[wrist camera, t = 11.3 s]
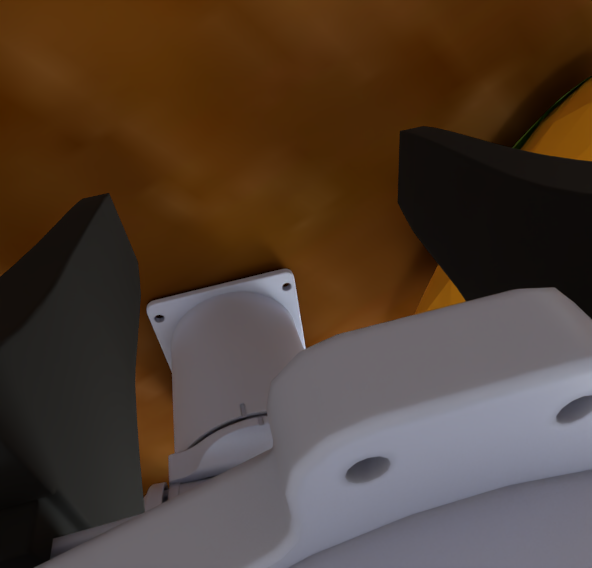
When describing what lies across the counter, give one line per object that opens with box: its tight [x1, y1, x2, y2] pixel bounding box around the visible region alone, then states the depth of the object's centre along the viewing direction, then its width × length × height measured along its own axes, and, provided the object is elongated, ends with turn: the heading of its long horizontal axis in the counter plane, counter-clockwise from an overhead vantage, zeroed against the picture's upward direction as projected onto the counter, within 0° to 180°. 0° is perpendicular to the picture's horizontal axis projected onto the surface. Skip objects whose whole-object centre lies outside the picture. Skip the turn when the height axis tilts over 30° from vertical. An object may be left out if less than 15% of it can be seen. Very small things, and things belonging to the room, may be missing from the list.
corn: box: [414, 76, 592, 315], centre depth 24 cm, size 7×8×20 cm
